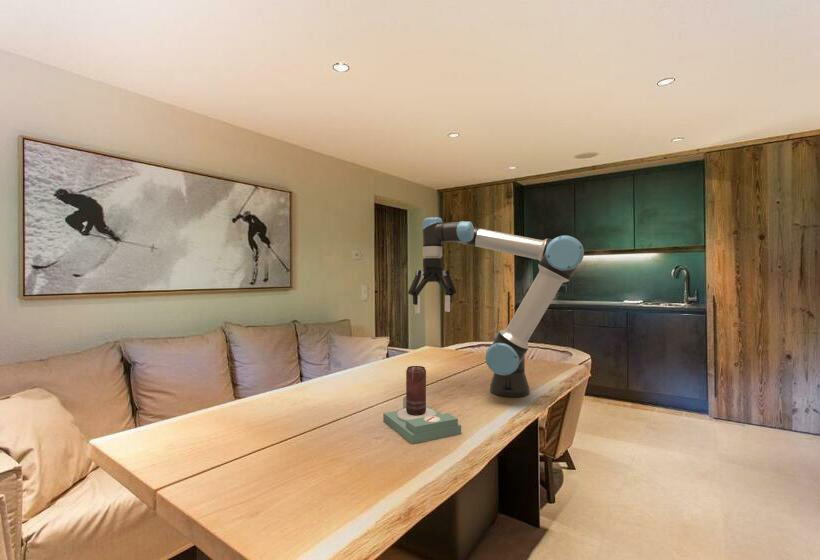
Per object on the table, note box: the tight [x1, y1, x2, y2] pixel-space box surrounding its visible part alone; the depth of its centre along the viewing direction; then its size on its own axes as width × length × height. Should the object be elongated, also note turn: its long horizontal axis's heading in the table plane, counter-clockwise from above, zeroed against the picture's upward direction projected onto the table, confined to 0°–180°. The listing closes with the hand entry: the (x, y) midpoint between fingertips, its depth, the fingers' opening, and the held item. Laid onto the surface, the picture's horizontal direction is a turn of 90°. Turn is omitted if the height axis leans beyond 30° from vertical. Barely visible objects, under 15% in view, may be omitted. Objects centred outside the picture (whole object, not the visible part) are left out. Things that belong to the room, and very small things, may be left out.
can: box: [405, 365, 427, 415], centre depth 125 cm, size 6×6×14 cm
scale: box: [383, 405, 462, 445], centre depth 123 cm, size 16×20×5 cm
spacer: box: [402, 396, 406, 409], centre depth 139 cm, size 4×4×4 cm
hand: (432, 312), depth 158 cm, fingers open, 13 cm apart
